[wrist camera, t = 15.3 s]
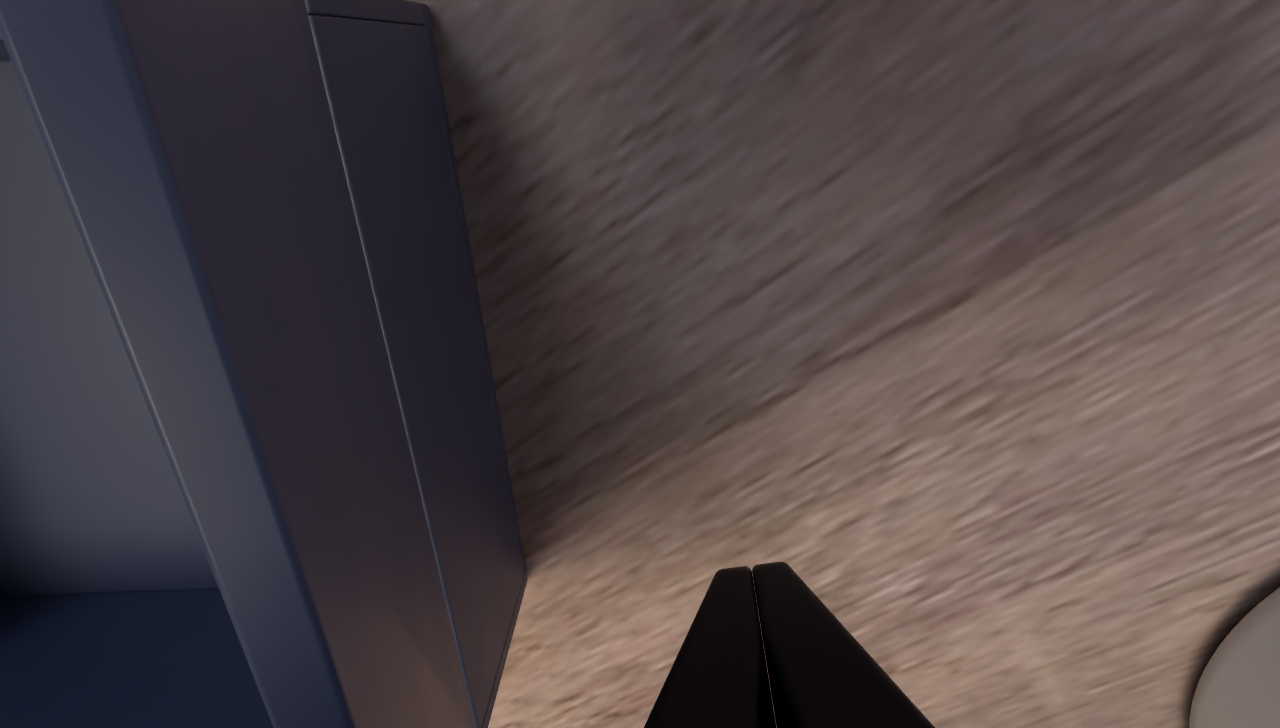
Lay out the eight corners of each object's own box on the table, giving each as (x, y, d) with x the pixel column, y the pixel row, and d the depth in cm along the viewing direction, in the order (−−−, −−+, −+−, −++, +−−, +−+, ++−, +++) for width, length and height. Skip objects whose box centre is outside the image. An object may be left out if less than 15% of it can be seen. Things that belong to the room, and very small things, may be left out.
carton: (428, 4, 15) (304, -20, 10) (528, 579, 20) (483, 747, 16) (-278, 66, 16) (-717, 74, 11) (11, 596, 21) (-186, 759, 17)
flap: (265, -20, 9) (299, -21, 9) (466, 777, 15) (485, 771, 15) (-143, -309, 2) (13, -302, 2) (528, 1380, 8) (563, 1362, 8)
